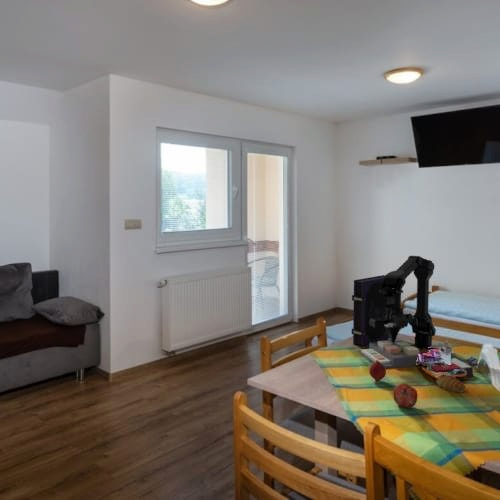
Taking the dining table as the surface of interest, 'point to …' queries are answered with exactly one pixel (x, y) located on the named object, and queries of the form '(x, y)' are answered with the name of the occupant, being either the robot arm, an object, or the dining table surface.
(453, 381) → the pastry
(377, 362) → the onion
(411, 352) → the key sand
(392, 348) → the key terracotta
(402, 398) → the pomegranate
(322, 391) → the dining table surface
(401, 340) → the key slate
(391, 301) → the robot arm
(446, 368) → the calculator
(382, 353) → the keypad console
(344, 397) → the dining table surface
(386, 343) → the light grey key
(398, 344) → the key sage
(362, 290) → the book
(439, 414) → the dining table surface
